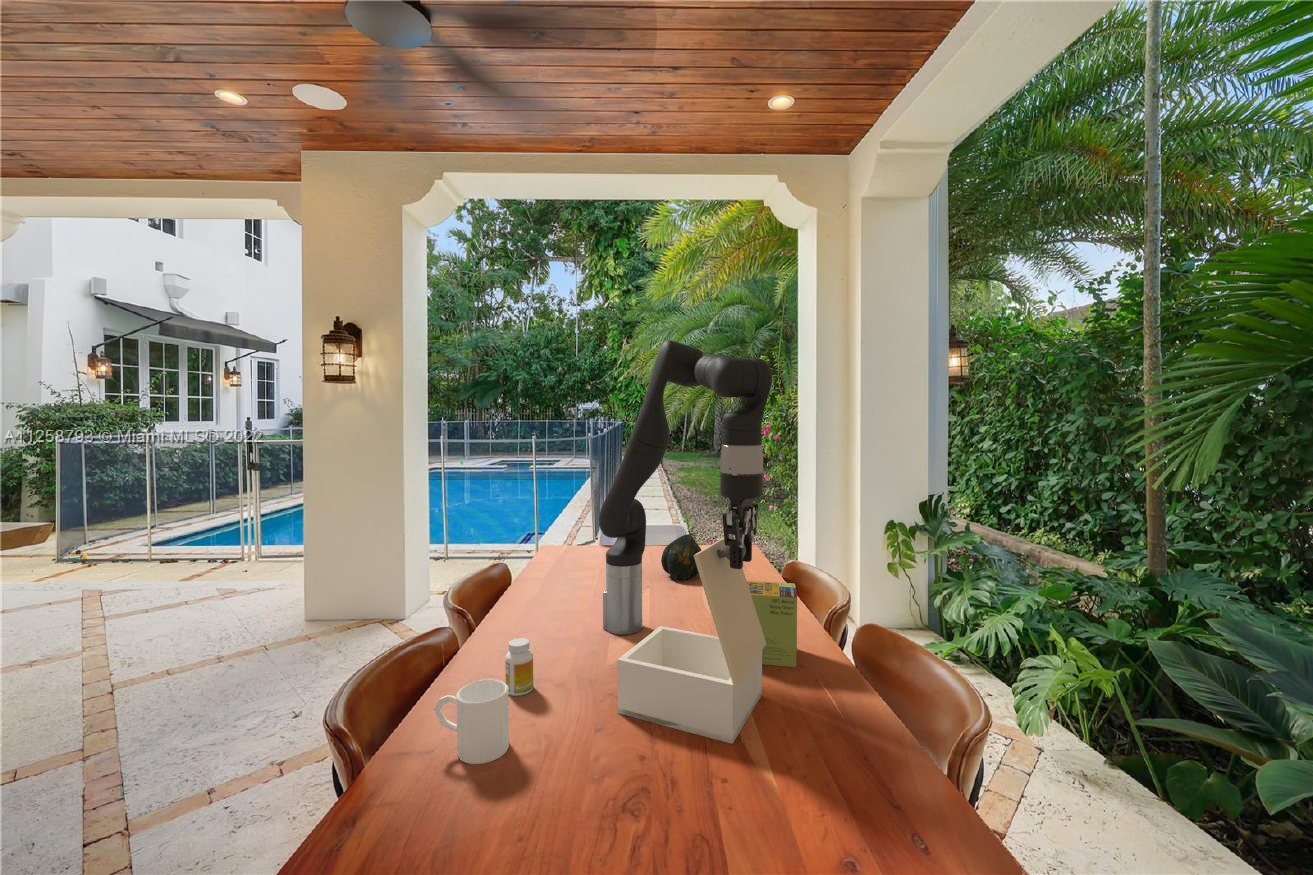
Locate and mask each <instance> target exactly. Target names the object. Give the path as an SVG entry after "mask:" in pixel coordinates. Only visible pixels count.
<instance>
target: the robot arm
mask: <svg viewBox="0 0 1313 875" xmlns="http://www.w3.org/2000/svg"><path fill="white" fill-rule="evenodd" d="M648 382H649V383H648V385H647V389H646V393H645V395H644V396H645V397H644V398H643V403H642V405H641V407H640V410H639V413H638V415H637V419H636V420H635V424H634V425H633V429H632V431H631V434H630V436H629V440H628V442H627V446H626V449H625V452H624V454H623V457H622V459H621V463H620V465H619V468H618V470H617V473H616V476H615V479H614V480H613V483H612V485H611V487H610V489H609V491H608V493H607V496H606V497H605V500H604V501H603V503H602V506H601V507H600V512H599V516H598V524H599V529H600V531H601V533H602V534H603V535H604V536H605V537H607V538H610V539H616V538H617V539H616V540H615V542H614V544H612V546H610V548H608V549H607V551H606V553H605V590H604V591H602V592H603V593H602V629H603V630H606V631H607V632H609V633H611V634H615V635H621V636H622V635H631V634H636V633H639V632H641V631H642V629H643V555H644V553H645V550H646V532H647V517H646V516H647V514H646V510H645V507H644V505H643V504H642V503H641V501H639V500H638V499H636V496H637V495H638V493H639V491H640V490H641V488H642V487H643V486H644V484H646V483H647V481H648V480H649V479H650V478H651V477H652V475H653V474H654V473H655V472H656V470H658V468H659V466H660V464H662V461H663V458H664V456H665V453H666V450H667V449H668V446H669V443H670V439H671V438H670V437H671V433H670V427H669V426H670V425H669V423H668V419H667V414H666V411H665V410H666V409H665V405H664V404H665V403H664V397H665V396H664V395H665V388H666V385H667V382H669V383H672V384H675V385H678V386H682V387H690V388H691V387H699V386H700V387H701V386H702V387H704V388H706V389H709V390H712V391H713V392H714V394H715V395H716V396H719V397H722V398H730V399H731V398H735V399H736V398H737V399H738V398H739V399H740V398H743V399H745V402H744V404H743V406H742V407H741V409H737V410H733V411H729V412H726V413H724V415H723V416H722V419H721V452H720V462H719V463H720V467H719V469H720V472H719V474H720V476H719V477H720V481H719V482H720V484H719V485H720V488H719V490H720V492H719V493H720V496H721V497H722V498H727V499H729V504H728V508H727V512H723V513H722V516H721V517H722V518H721V519H722V528H723V538H724V543H725V545H726V546H728V547H730V567H731V568H733V569H741V568H743V567H744V562H747V563H749V562H750V563H751V561H752V560H753V542H754V538H755V536H756V535H757V530H758V529H757V526H758V516H759V515H758V513H759V504H758V503H754V499H755V500H756V499H760V498H761V497H762V496H763V494H764V491H763V490H764V487H763V486H764V473H763V472H764V457H763V456H764V455H763V449H762V444H763V443H762V442H763V441H762V438H763V437H762V436H763V434H762V433H763V432H762V431H763V429H762V426H763V419H764V413H765V410H766V406H767V403H768V398H769V395H770V392H771V390H772V385H773V372H772V369H771V366H770V365H769V363H768V361H766V360H764V359H763V358H759V357H758V358H753V357H731V356H729V355H724V354H718V353H710V354H707V353H705V352H704V351H702V350H701V349H699V348H696V347H694V346H691V345H687V344H685V343H682V342H679V341H675V340H672V339H668V340H666V341H664V342H663V343H662V344H661V346H660V348H659V350H658V352H657V355H656V358H655V361H654V363H653V367H652V371H651V374H650V379H649V381H648ZM743 543H744V544H743ZM743 545H745V547H746V554H745V556H744V557H743ZM743 569H744V568H743Z"/></svg>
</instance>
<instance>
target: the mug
mask: <svg viewBox="0 0 1313 875" xmlns="http://www.w3.org/2000/svg"><path fill="white" fill-rule="evenodd" d="M509 696H510V695H509V689H508V685H507V684H506V682H505V681H502V680H499V679H495V678H494V679H492V678H489V679H488V678H487V679H479V680H475V681H472V682H469V683H467V684H465V685H464V686H462V687H461V688H460V689H459V690H458V691H457V692H456V696H455V695H451V694H447V695H445V696H442V697H439V700H438V701H437V703H436V705H435V707H434V709H433V711H434V713H435V715H436V718H437V719H438V721H439V724H440V725H441V726H442V727H445V728H447V729H449V730H450V731H454V732H456V738H457V739H456V746H457V748H456V750H457V752H456V753H457V754H456V755H457V757H458V758H459V760H460V761H461V762H463V763H466V764H469V765H483V764H487V763H488V764H489V763H491V762H493V761H496V760H497V759H499V758H501V757H502V756H504V755H505V754H506V753H507V752H508V749H509V747H510V708H509V706H510V704H509V703H510V702H509V699H510V698H509ZM449 703H453V704H456V723H454V722H452V721H450V720H448V719H447V717H446V714H445V713H444V712H443V709H442V708H443V707H444V705H445V704H449Z"/></svg>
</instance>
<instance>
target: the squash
mask: <svg viewBox="0 0 1313 875" xmlns="http://www.w3.org/2000/svg"><path fill="white" fill-rule="evenodd" d="M702 550H703V549H701V547H700V545H699V544H698V543H697V542H696V540H695V539H694V537H693V536H692V535H691V534H690V533H689V534H684V535H681V536H680V537H678V538H676V539H674V540H673V541H672V542H669V543H668V544H667V545H666V546H665V548H664V550H663V552H662V555H661V560H660V561H661V566H662V569H663V571H664V572H665V573H666V574H668V575H669V576H670V577H671V578H672V579H673V580H675V579H677V580H680V579H682V580H688V579H689V578H694V577H696V576H697V575H699V572H698V569H697V565H696V562H695V559H694V555H695V554H697V553H698V552H700V551H702ZM679 578H680V579H679Z"/></svg>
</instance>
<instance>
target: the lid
mask: <svg viewBox="0 0 1313 875" xmlns="http://www.w3.org/2000/svg"><path fill="white" fill-rule="evenodd" d="M743 544H744V543H743ZM701 550H702V551H700V552H698V553H697V554H695V555H694V559H695V562H696V565H697V569H698V572H699V574H698V575H699V579H700V581H701V585H702V588H703V591H704V595H705V596H706V598H705V599H706V600H707V604H708V607H709V610H710V613H711V616H712V620H713V624H714V626H715V627H714V628H715V631H716V634H717V636H718V637H719V640H720V644H721V647H722V650H723V653H724V657H725V660H726V663H727V666H728V670H729V673H730V676H731V679H732V683H733V685H737V684H738V683H739V682H740V680H741V679H742V678H743V676H744V675H745V673H746V672H747V670H748V669H749V668H750V666H751V665H752V663H753V662H754V661H755V659H756V658H757V656H758V655H759V654H760V652H761V651H762V649H763V648H764V647H765V645H766V641H765V638H764V635H763V632H762V628H761V625H760V622H759V619H758V616H757V613H756V609H755V606H754V603H753V600H752V597H751V594H750V590H749V587H748V584H747V581H748V580H747V578H746V575H745V571H744V568H741V569H733V568H731V567H730V547H728V546H726V545H725V543H724V537H722V538H720V539H719V540H717V541H715V542H713V543H712V544H710V545H709V546H707V547H704V548H703V549H701ZM745 554H746V547H745V545H743V557H744V556H745Z"/></svg>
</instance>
